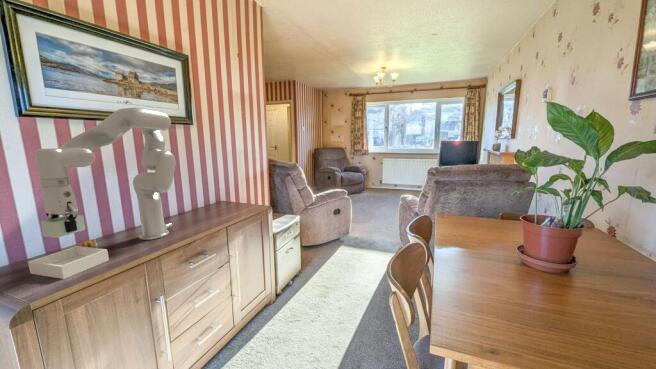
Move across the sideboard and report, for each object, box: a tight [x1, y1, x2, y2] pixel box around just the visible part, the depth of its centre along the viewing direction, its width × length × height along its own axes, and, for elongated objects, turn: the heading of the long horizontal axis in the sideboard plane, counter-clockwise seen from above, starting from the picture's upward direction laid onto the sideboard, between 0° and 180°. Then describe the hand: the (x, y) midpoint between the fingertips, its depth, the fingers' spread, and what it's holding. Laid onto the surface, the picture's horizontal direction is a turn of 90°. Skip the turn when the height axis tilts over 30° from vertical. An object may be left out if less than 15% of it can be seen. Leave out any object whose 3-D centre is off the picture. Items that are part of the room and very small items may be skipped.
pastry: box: [70, 239, 98, 248], centre depth 118 cm, size 9×7×4 cm
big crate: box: [27, 245, 110, 280], centre depth 102 cm, size 15×17×4 cm
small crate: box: [40, 214, 86, 239], centre depth 99 cm, size 9×7×6 cm
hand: (64, 230), depth 100 cm, fingers closed on small crate, 7 cm apart
